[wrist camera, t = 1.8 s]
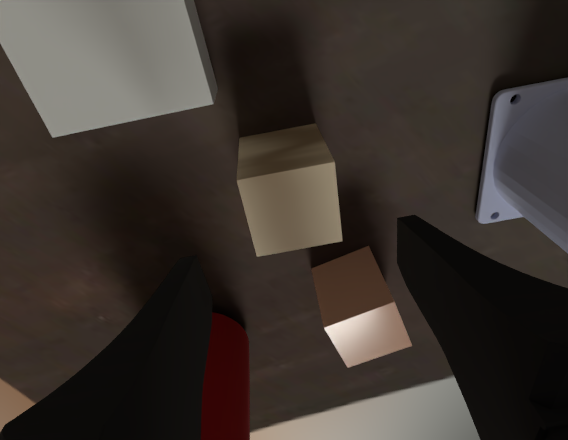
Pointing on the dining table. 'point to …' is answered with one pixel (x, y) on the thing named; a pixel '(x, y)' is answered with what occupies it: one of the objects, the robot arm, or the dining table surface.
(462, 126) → the dining table surface
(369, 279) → the terracotta block
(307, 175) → the maple block
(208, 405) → the beverage can
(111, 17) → the grey slab
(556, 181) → the robot arm
